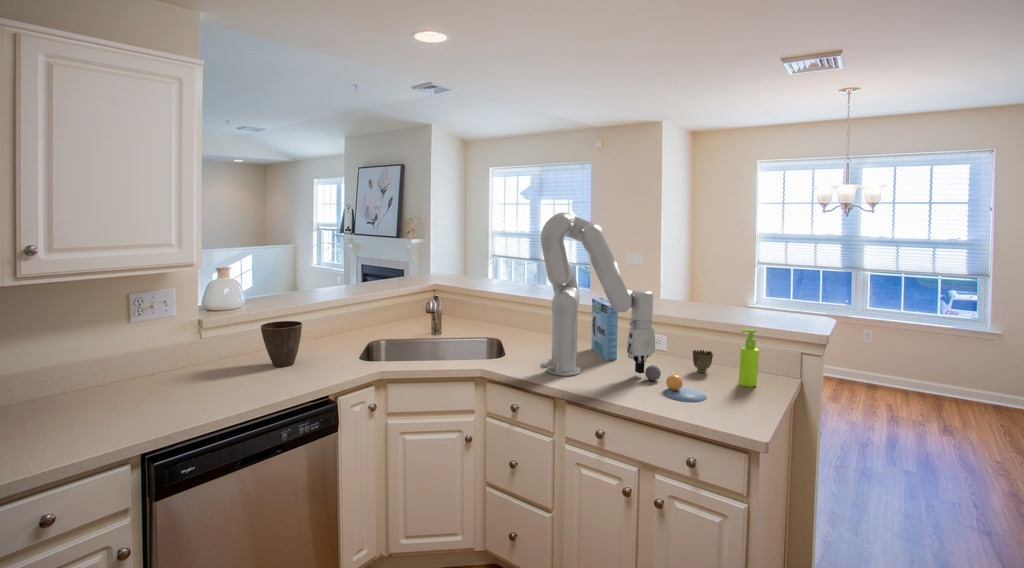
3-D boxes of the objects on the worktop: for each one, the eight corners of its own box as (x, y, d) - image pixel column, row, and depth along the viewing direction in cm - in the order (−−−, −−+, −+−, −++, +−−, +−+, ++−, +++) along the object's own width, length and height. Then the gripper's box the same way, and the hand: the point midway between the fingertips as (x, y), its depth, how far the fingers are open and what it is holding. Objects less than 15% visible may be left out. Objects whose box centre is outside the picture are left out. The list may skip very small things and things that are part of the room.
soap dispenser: (733, 382, 202) (736, 327, 199) (751, 381, 202) (755, 327, 200) (740, 387, 196) (744, 331, 193) (759, 387, 197) (763, 331, 194)
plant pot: (253, 367, 215) (251, 326, 213) (283, 357, 228) (281, 319, 226) (283, 371, 209) (281, 330, 207) (312, 361, 223) (310, 322, 221)
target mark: (684, 404, 178) (684, 404, 178) (654, 391, 191) (654, 391, 191) (716, 398, 185) (716, 397, 185) (684, 385, 197) (685, 385, 197)
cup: (713, 375, 209) (714, 355, 208) (692, 374, 211) (693, 353, 210) (710, 370, 217) (711, 350, 215) (690, 368, 218) (691, 348, 217)
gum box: (616, 360, 230) (618, 305, 226) (605, 360, 229) (606, 305, 225) (601, 348, 248) (602, 297, 245) (590, 348, 248) (591, 297, 244)
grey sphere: (642, 364, 203) (641, 379, 203) (654, 365, 199) (653, 381, 199) (652, 364, 207) (651, 379, 206) (664, 366, 202) (663, 381, 202)
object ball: (660, 379, 194) (666, 394, 191) (670, 373, 189) (676, 388, 187) (672, 376, 196) (678, 391, 194) (682, 371, 192) (688, 386, 190)
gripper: (632, 327, 198) (630, 377, 201) (664, 324, 205) (661, 372, 208) (618, 323, 205) (617, 372, 207) (650, 320, 212) (648, 367, 214)
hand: (639, 372), depth 208 cm, fingers closed
